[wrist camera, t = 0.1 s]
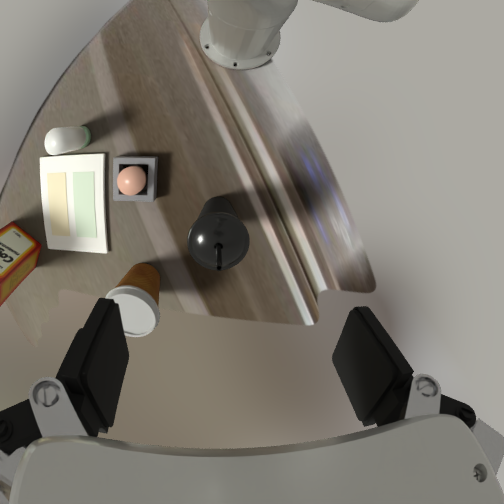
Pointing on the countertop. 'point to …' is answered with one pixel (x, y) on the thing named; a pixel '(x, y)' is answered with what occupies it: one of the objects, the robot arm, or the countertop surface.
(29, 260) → the baking soda box
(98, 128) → the countertop surface
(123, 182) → the button cap
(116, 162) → the button housing
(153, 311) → the disposable coffee cup
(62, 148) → the white cylinder
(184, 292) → the countertop surface
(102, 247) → the picture board
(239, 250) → the drinking cup
